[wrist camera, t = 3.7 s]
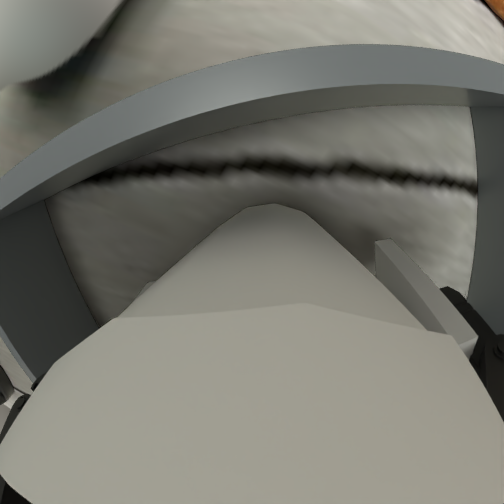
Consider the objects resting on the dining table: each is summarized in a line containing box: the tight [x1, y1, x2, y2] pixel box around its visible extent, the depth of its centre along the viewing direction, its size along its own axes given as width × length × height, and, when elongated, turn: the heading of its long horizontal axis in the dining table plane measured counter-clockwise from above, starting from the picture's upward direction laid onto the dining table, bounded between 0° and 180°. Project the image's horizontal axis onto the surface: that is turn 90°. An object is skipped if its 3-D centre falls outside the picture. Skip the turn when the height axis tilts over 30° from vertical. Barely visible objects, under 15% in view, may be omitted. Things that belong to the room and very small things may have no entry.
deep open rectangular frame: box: [0, 44, 504, 383], centre depth 11 cm, size 28×16×7 cm, turn 103°
